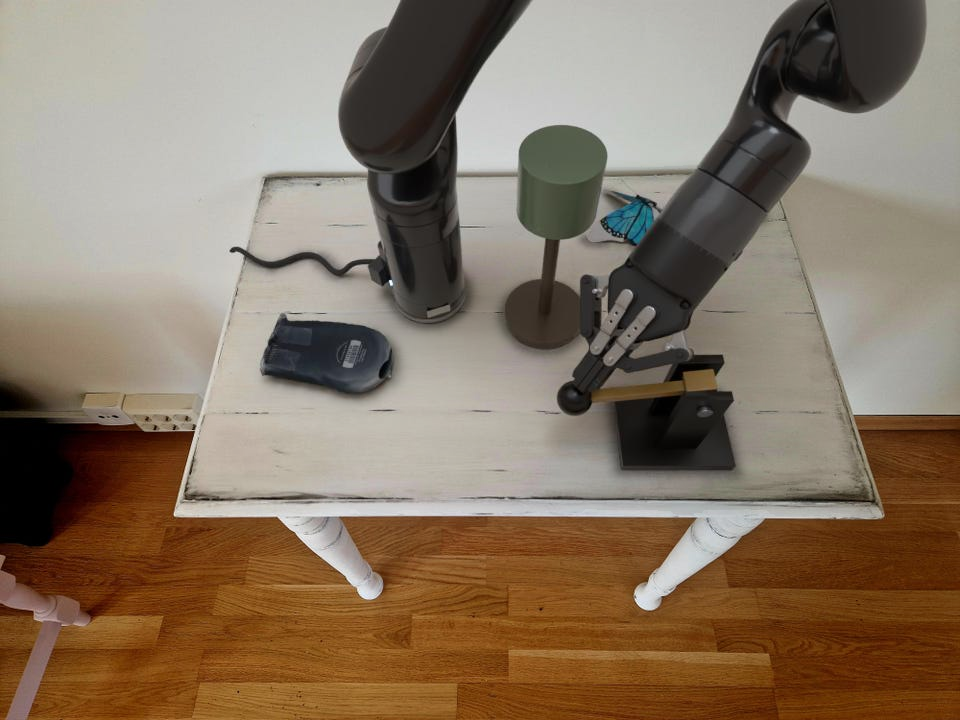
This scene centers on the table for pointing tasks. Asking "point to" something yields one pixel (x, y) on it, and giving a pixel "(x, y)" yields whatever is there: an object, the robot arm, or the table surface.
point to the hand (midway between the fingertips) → (580, 388)
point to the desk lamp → (554, 227)
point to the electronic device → (327, 354)
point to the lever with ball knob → (633, 391)
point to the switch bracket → (677, 426)
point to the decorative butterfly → (626, 220)
